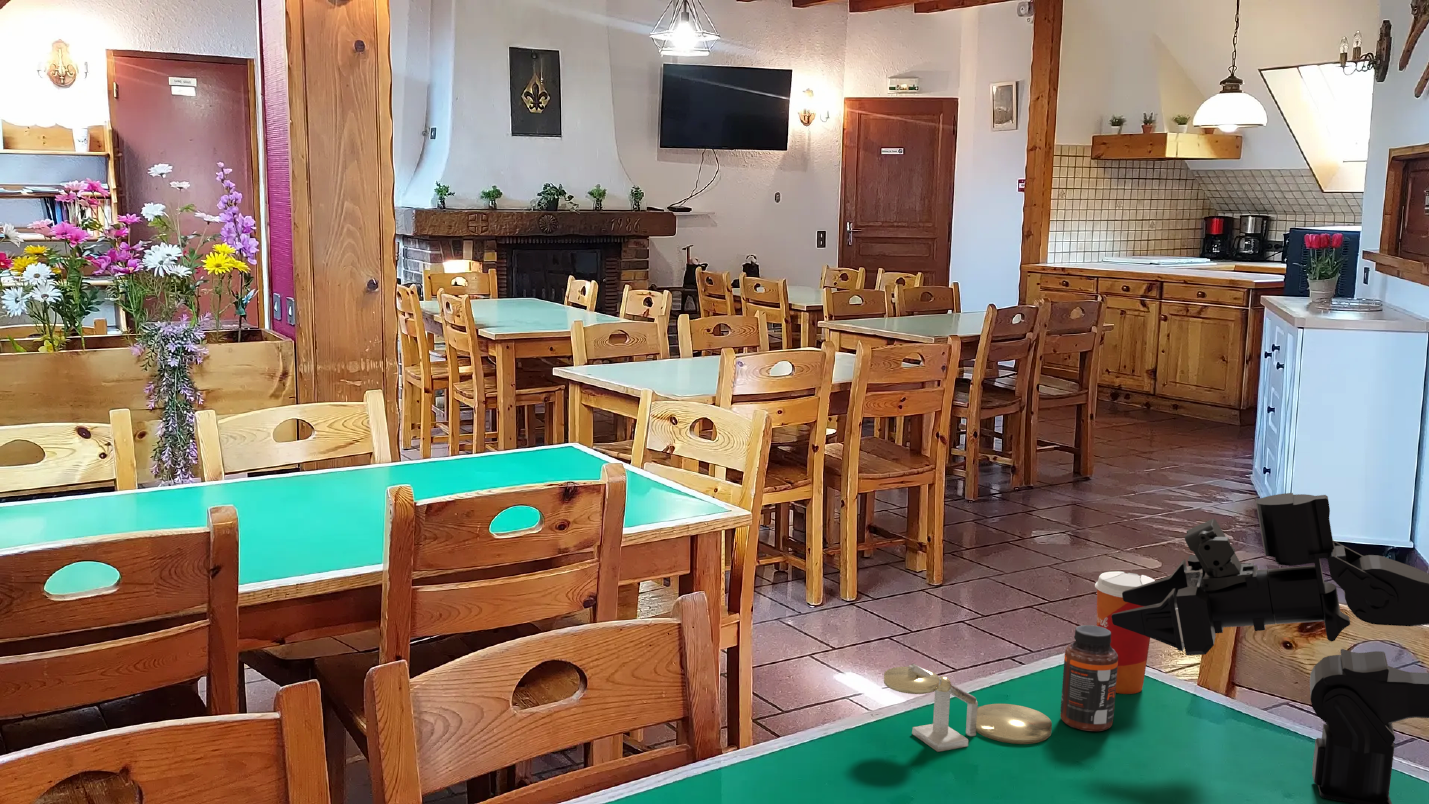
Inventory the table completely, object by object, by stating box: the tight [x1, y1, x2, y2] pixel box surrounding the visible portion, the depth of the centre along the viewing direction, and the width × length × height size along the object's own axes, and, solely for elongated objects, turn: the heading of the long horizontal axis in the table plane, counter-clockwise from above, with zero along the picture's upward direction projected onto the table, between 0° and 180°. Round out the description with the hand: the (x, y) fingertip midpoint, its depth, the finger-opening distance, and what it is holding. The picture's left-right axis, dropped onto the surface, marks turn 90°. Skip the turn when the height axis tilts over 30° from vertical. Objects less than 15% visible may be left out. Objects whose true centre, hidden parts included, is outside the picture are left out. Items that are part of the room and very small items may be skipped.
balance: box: [883, 663, 1053, 753], centre depth 137 cm, size 22×9×9 cm, turn 114°
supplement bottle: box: [1060, 624, 1118, 732], centre depth 142 cm, size 6×6×11 cm
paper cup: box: [1094, 570, 1156, 695], centre depth 153 cm, size 8×8×14 cm
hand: (1117, 607), depth 134 cm, fingers open, 9 cm apart
